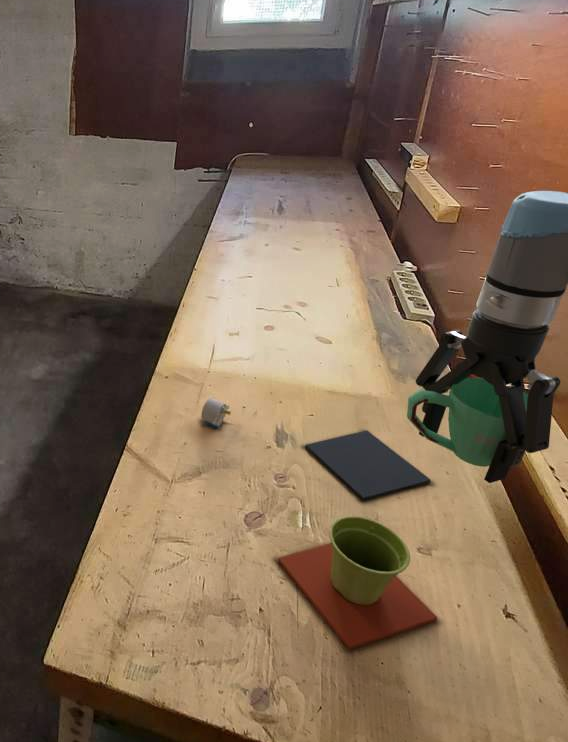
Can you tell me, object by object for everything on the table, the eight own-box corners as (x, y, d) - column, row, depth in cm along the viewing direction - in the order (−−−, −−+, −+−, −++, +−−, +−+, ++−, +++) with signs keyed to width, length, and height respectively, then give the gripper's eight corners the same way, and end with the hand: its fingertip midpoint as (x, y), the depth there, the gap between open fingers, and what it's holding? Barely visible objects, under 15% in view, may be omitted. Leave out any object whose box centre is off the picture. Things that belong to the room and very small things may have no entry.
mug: (499, 438, 83) (522, 382, 79) (530, 485, 75) (557, 425, 71) (387, 423, 88) (403, 369, 83) (404, 466, 79) (422, 408, 75)
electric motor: (219, 437, 109) (222, 417, 107) (197, 427, 112) (199, 407, 110) (235, 420, 114) (238, 400, 111) (213, 411, 117) (215, 391, 114)
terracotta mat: (436, 620, 75) (437, 617, 75) (348, 649, 72) (349, 646, 71) (355, 538, 87) (356, 535, 87) (277, 560, 84) (278, 557, 84)
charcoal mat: (430, 482, 97) (431, 479, 97) (362, 500, 94) (363, 497, 93) (366, 432, 109) (367, 430, 109) (304, 447, 106) (305, 444, 106)
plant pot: (400, 626, 74) (418, 582, 70) (320, 605, 77) (333, 561, 73) (386, 568, 81) (401, 525, 78) (314, 551, 84) (326, 509, 81)
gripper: (411, 287, 79) (375, 415, 89) (589, 365, 60) (518, 518, 70) (453, 279, 81) (413, 406, 91) (639, 353, 62) (563, 504, 72)
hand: (459, 455), depth 80 cm, fingers closed on mug, 9 cm apart
